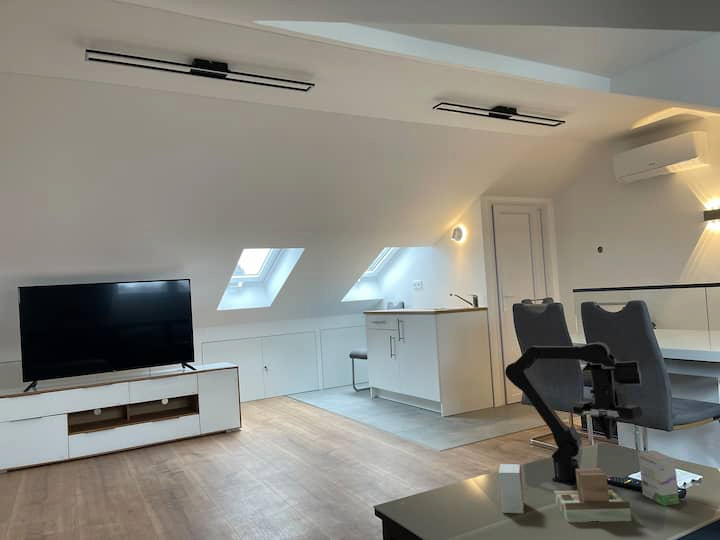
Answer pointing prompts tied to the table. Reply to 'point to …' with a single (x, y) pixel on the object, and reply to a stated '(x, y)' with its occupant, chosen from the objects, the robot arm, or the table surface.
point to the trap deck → (592, 508)
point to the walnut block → (592, 485)
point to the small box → (511, 488)
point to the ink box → (658, 477)
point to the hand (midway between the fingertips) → (609, 439)
